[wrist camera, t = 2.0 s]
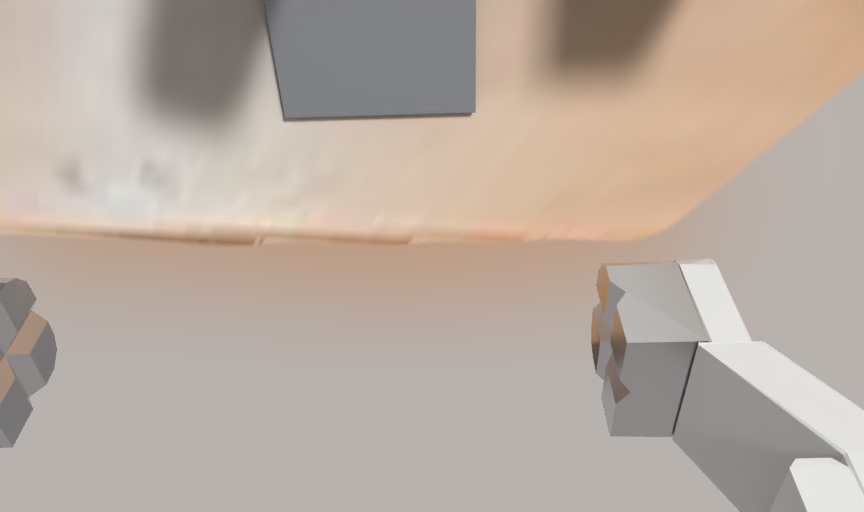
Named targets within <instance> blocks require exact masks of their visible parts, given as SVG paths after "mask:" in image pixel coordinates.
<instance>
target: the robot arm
mask: <svg viewBox="0 0 864 512" xmlns="http://www.w3.org/2000/svg"><path fill="white" fill-rule="evenodd" d="M597 290H598V294H599V298H600V303H599V304H598V305H597V306H596V307H595V308H594V309H593V316H592V329H591V335H592V336H591V337H592V338H591V339H592V340H591V344H592V353H593V360H594V365H595V370H596V373H597V374H598V375H599V376H600V377H601V378H602V379H603V380H604V385H603V392H602V402H603V406H604V411H605V415H606V420H607V424H608V428H609V433H610V436H646V437H653V436H654V437H673V441H674V442H675V443H676V444H677V445H678V446H679V447H680V448H681V449H682V450H683V451H684V452H685V454H686V455H687V456H688V457H689V458H690V459H691V460H692V461H693V462H694V463H695V464H696V465H697V466H698V467H699V468H700V469H701V470H702V472H703V473H704V474H705V475H706V476H707V477H708V478H709V479H710V480H711V481H712V482H713V483H714V484H715V485H716V487H717V488H718V489H719V490H720V491H721V492H722V493H723V494H724V495H725V496H726V497H727V498H728V499H729V500H730V501H731V503H733V505H734V506H735V507H736V508H737V509H738V510H739V511H740V512H864V410H862V409H861V408H860V407H858V406H857V405H855V404H854V403H852V402H851V401H849V400H848V399H846V398H845V397H844V396H842V395H841V394H839V393H838V392H836V391H835V390H833V389H832V388H830V387H829V386H828V385H826V384H825V383H823V382H822V381H820V380H819V379H817V378H816V377H814V376H813V375H811V374H810V373H809V372H807V371H806V370H804V369H803V368H801V367H800V366H798V365H797V364H795V363H794V362H792V361H791V360H789V359H788V358H787V357H785V356H784V355H782V354H781V353H779V352H778V351H776V350H775V349H773V348H772V347H771V346H769V345H768V344H766V343H765V342H752V340H751V338H750V336H749V333H748V331H747V329H746V327H745V325H744V322H743V320H742V318H741V316H740V314H739V312H738V310H737V307H736V305H735V303H734V301H733V299H732V297H731V294H730V292H729V290H728V288H727V286H726V284H725V282H724V280H723V277H722V275H721V273H720V271H719V269H718V267H717V264H716V263H715V262H714V261H713V260H711V259H696V260H675V261H673V262H671V261H668V262H637V263H604V264H601V266H600V269H599V272H598V278H597ZM35 301H36V297H35V295H34V294H33V292H32V290H31V288H30V287H29V285H28V283H27V282H26V281H23V280H20V279H17V278H0V448H3V447H13V445H14V444H15V442H16V440H17V438H18V436H19V434H20V432H21V430H22V428H23V427H24V425H25V423H26V421H27V419H28V418H29V416H30V414H31V412H32V410H33V408H32V405H31V402H30V399H29V397H30V396H31V395H33V394H34V393H35V392H37V391H38V390H39V389H41V388H42V387H44V386H45V385H46V384H47V382H48V380H49V378H50V376H51V373H52V372H53V370H54V366H55V358H56V352H57V347H56V342H55V337H54V333H53V331H52V329H51V327H50V325H49V323H48V321H46V320H45V319H43V318H42V317H41V316H39V315H38V314H36V313H35V312H33V311H32V308H33V306H34V304H35Z"/></svg>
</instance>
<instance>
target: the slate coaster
mask: <svg viewBox="0 0 864 512" xmlns="http://www.w3.org/2000/svg"><path fill="white" fill-rule="evenodd" d="M264 5H265V10H266V16H267V21H268V27H269V32H270V38H271V44H272V49H273V55H274V60H275V66H276V71H277V77H278V83H279V88H280V94H281V99H282V105H283V110H284V116H285V118H297V117H333V116H368V115H403V114H439V113H474V112H475V60H476V0H264Z"/></svg>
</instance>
